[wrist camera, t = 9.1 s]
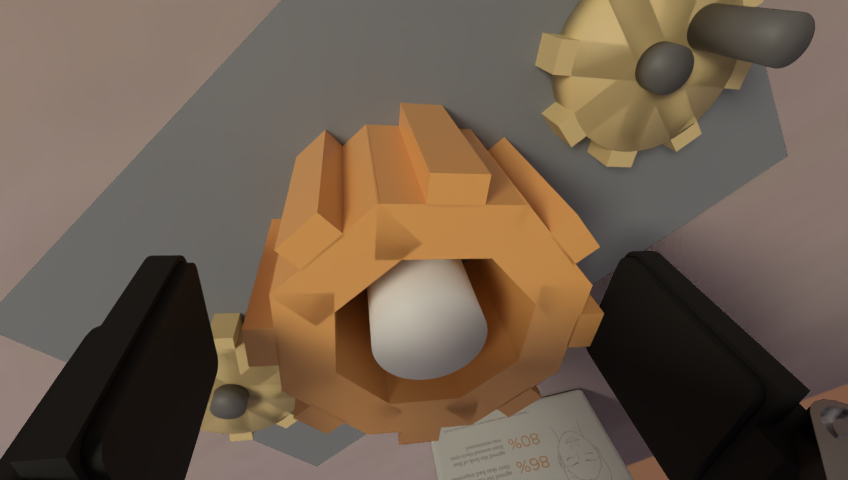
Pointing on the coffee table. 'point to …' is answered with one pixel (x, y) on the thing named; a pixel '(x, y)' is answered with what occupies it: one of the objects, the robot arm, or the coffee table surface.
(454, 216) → the gear
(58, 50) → the coffee table surface
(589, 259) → the board
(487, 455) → the small box
